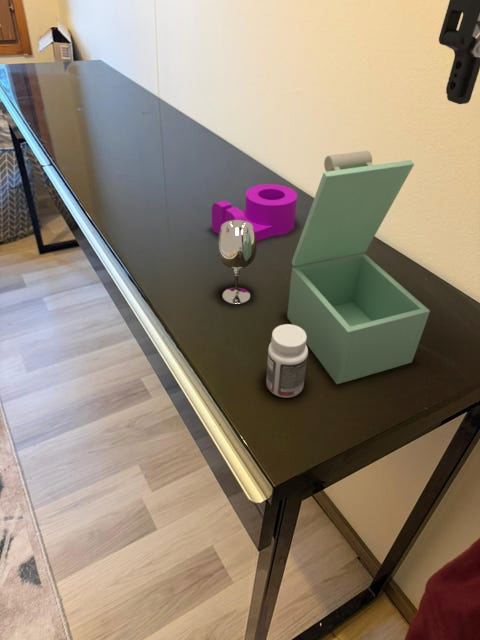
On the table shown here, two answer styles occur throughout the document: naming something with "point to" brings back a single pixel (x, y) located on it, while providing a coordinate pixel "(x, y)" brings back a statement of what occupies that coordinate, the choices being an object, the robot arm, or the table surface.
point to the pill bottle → (287, 361)
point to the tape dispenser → (261, 211)
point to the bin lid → (349, 206)
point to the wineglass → (236, 254)
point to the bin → (355, 316)
